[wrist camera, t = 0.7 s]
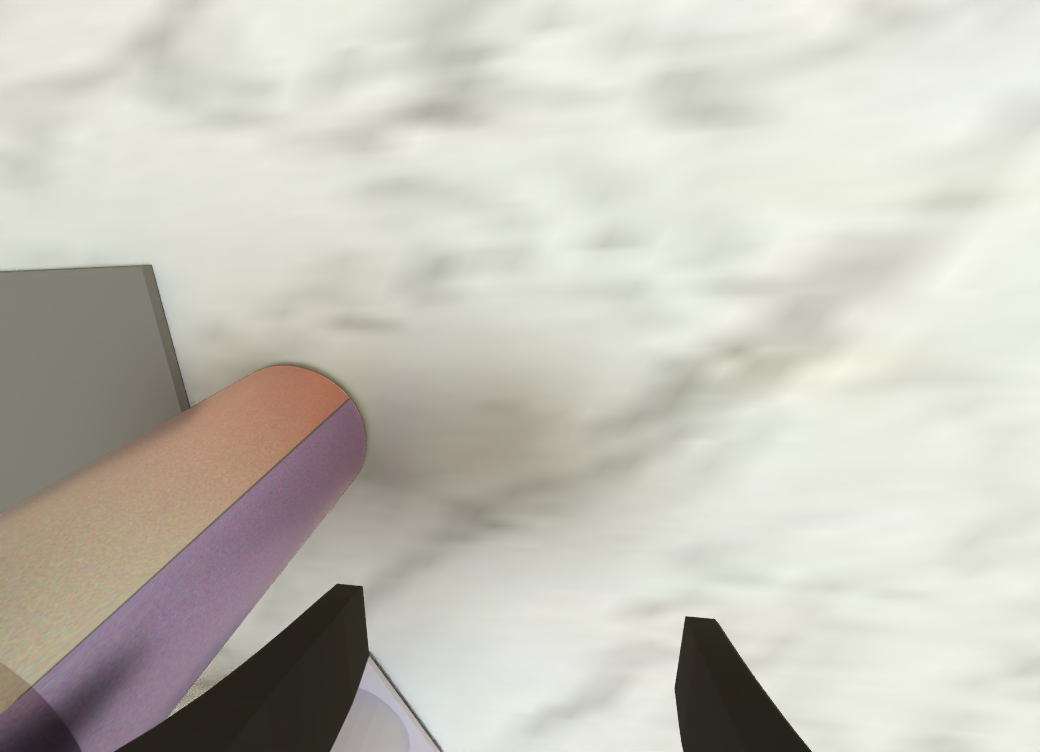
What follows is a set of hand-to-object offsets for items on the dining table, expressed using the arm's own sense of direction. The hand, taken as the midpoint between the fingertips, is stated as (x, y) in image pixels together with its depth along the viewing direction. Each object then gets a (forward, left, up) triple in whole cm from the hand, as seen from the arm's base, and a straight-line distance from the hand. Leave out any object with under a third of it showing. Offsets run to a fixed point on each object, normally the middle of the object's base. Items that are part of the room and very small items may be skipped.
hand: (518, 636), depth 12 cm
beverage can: (-9, +5, -11) cm, 15 cm away
